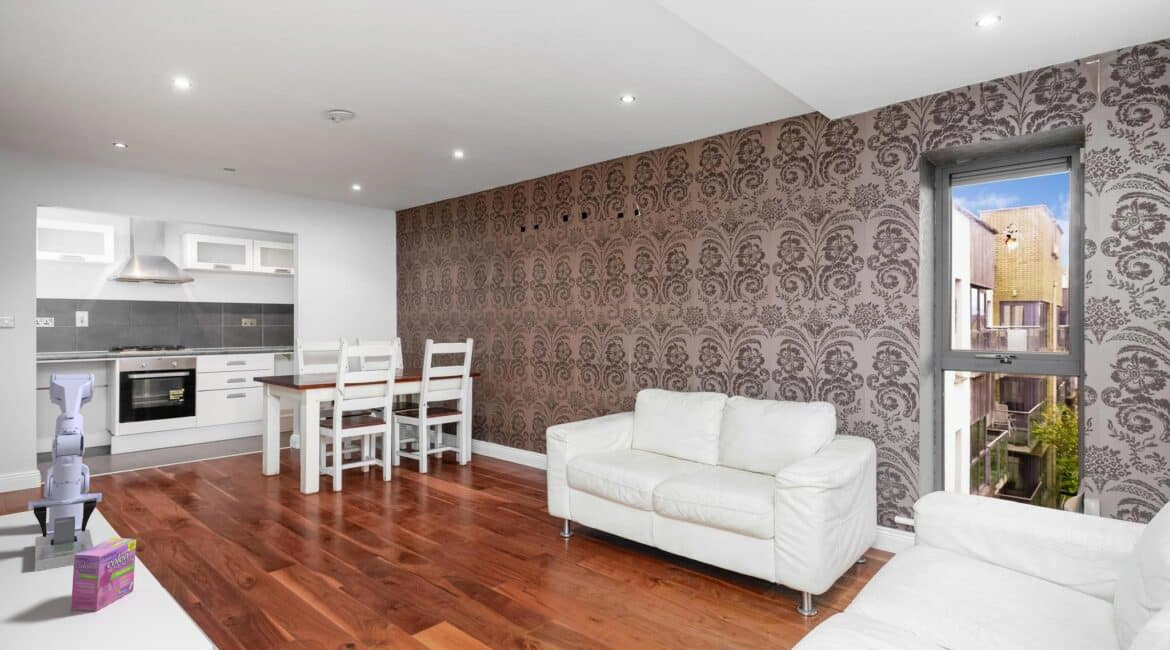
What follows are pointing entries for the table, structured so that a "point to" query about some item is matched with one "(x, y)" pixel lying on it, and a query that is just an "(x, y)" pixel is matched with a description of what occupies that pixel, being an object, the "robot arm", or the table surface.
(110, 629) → the table surface
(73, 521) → the grey rectangular block
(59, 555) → the plate
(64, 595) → the table surface
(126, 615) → the table surface
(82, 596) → the box
